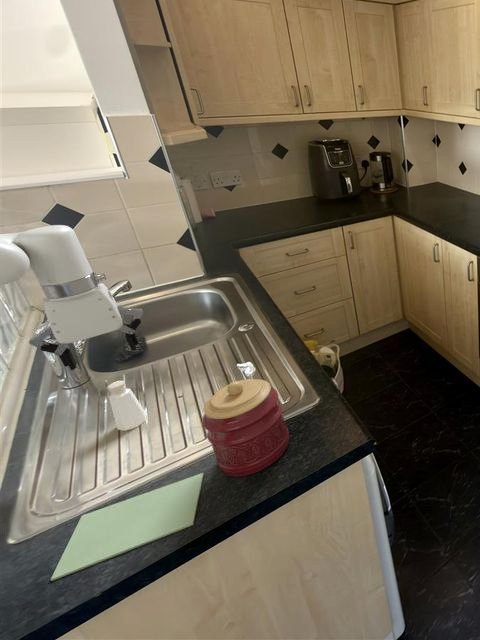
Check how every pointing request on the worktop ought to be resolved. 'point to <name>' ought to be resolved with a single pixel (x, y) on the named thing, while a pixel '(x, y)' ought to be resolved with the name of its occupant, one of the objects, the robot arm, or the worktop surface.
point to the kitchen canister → (245, 427)
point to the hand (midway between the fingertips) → (105, 357)
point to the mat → (130, 524)
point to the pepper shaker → (125, 407)
